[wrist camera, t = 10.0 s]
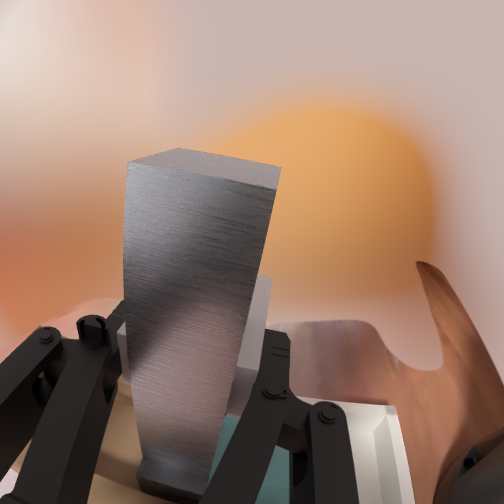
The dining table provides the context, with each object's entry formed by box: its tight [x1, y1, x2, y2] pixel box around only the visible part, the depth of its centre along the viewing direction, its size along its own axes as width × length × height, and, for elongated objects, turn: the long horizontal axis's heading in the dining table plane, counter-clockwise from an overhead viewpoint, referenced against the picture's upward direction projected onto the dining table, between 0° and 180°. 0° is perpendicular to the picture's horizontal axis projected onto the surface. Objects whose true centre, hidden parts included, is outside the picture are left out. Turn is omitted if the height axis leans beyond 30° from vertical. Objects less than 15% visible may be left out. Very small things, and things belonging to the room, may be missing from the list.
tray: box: [226, 396, 415, 504], centre depth 15 cm, size 13×14×3 cm
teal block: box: [207, 416, 289, 504], centre depth 15 cm, size 4×4×4 cm
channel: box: [11, 326, 229, 504], centre depth 15 cm, size 16×11×4 cm
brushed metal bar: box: [123, 148, 281, 504], centre depth 12 cm, size 4×6×17 cm, turn 173°
